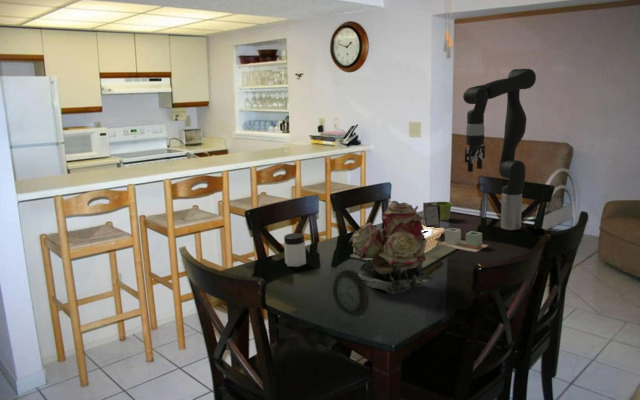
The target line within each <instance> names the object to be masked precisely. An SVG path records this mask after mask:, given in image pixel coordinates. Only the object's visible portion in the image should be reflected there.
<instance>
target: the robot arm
mask: <svg viewBox="0 0 640 400" xmlns="http://www.w3.org/2000/svg"><path fill="white" fill-rule="evenodd" d="M536 80H537V75H536V72H535V71H534V70H533V69H531V68H514V69H511V71H509V73H508V76H507V77H506V78H501V79H496V80H492V81H490V82H487V83H484V84H481V85H475V86H472V87H469V88H468V87H467V89H466V90H465V91H464V92H463V97H462V98H463V101H464V102H465V103H466V104H467V105H474V107H473V108H472V109H470V110H468V111H467V113H466V117H467V119H466V123H467V124H466V137H465V139H466V143H465V144H466V145H467V146H469V147H468V148H465V149H464V163H467V172H468V173H472V172H474V161H475V160H476V169H477V170H482V169H483V161H484V159H485V158H486V145H484V144H485V125H484V124H485V123H484V122H485V121H484V120H485V116H484V115H485V111H486V108H487V104H488V100H491V99H494V98H497V97H499V96H502V95H505V94H506V95H507V96H506V98H507V101H506V102H507V103H506V115H505V122H504V136H503V143H502V144H503V145H502V151H501V155H500V160H499V164H498V165H499V167H498V172H499V174H500V176H501V177H502V178H503V179H508V183H507V185H504V186H502V188H501V202H500V203H501V209H500V213H501V214H500V228H501V229H502V230H507V231H515V230H516V231H517V230H520V229H521V228H522V208H523V206H522V205H523V190H524V187H525V182H526V181H525V180H526V165H525V163H524V162H523V161H520V160H516V159H515V156H516V150H517V147H518V146H519V143H520V142H521V141H522V139H523V138H524V136H525V134H526V127H527V115H526V113H525V110H524V108H523V106H522V104H521V100H520V92H521V91H520V90H526V89H527V90H528V89H531V88H532V87H533V86H534V85H535V83H536Z"/></svg>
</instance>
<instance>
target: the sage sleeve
mask: <svg viewBox="0 0 640 400" xmlns="http://www.w3.org/2000/svg"><path fill="white" fill-rule="evenodd" d="M465 241H466V247H467V248H472V249H478V248H480V247H482V244H483V232H479V231H474V230H471V231H469V232H466V233H465Z"/></svg>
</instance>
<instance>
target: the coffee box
mask: <svg viewBox="0 0 640 400" xmlns="http://www.w3.org/2000/svg"><path fill="white" fill-rule="evenodd" d="M437 202H438V201H432V202H431V201H430V202H423V203H422V216H424V218H425V220H424V219H422V226H423V225H424V226H426V227H434V228H440V229H441V220H440V205H439V204H438V203H437Z"/></svg>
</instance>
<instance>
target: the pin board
mask: <svg viewBox="0 0 640 400" xmlns="http://www.w3.org/2000/svg"><path fill="white" fill-rule="evenodd" d="M437 245H439V246H442V247H448V248H451V249H452V248H453V249H457V250H463V251H468V252H474V253H477V252H479V251H481V250H483V249H484V248H487V247H488V246H489V244H485V243H482V247H480V248H478V249H472V248H467V247H466V240H463V239H461V243H459V244H456V245H451V244H446V243H445V240H444V241H443V242H440V243H438V244H437Z"/></svg>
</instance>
